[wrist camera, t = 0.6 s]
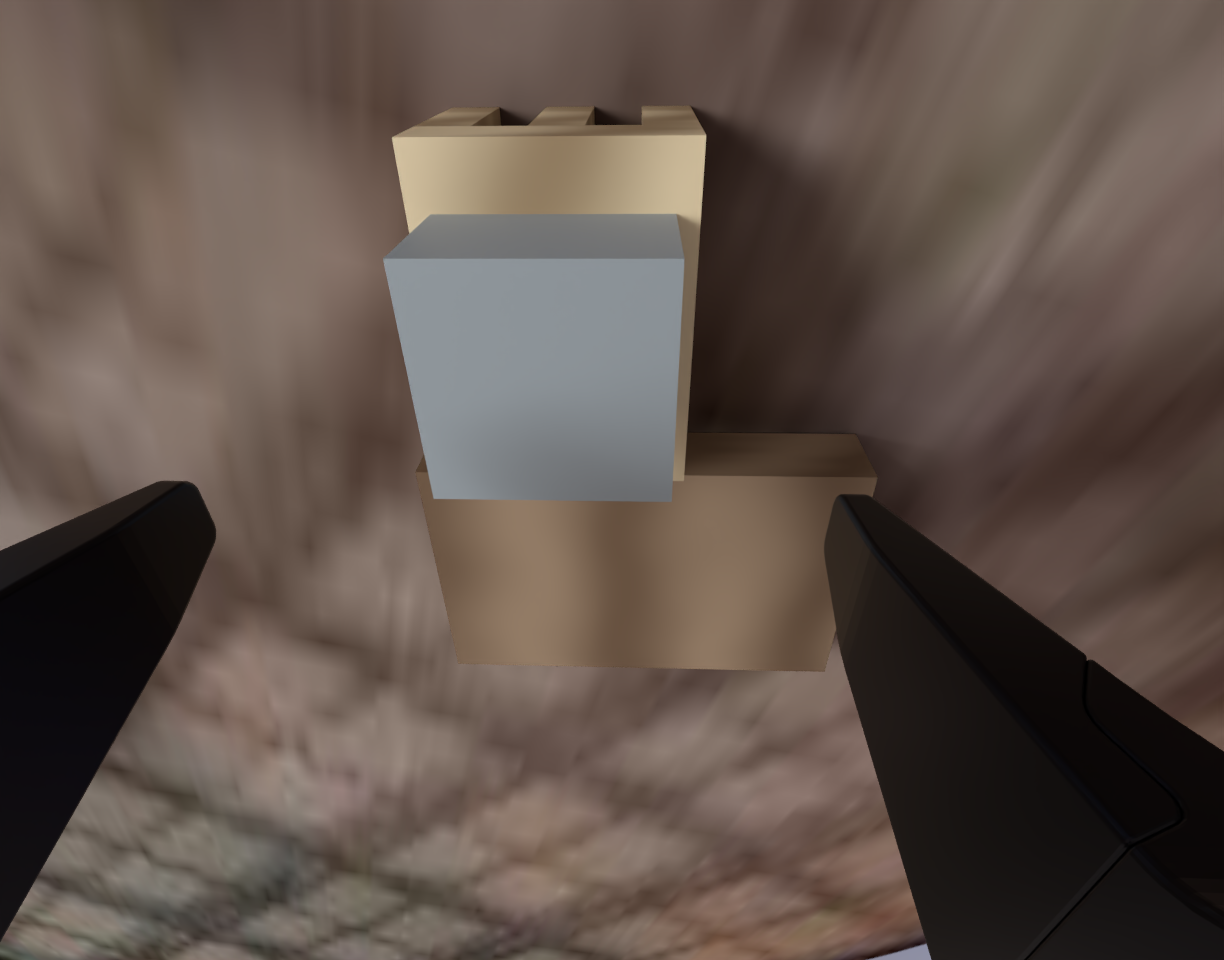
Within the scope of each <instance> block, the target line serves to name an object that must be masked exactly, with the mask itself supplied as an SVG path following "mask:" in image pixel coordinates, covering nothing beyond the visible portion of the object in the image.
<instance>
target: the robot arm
mask: <svg viewBox="0 0 1224 960" xmlns="http://www.w3.org/2000/svg"><path fill="white" fill-rule="evenodd" d="M215 539H216V528H215V524H214V522H213V520H212V518H211V516H210V513H209V511H208V509H207V507H206V505H205V503H204V500H203V498H202V496H201V494H200V492H199V490H198V488H197V487H196V486H195V485H194V484H193V483H190V482H188V481H159V482H156V483H154V484H151V485H149V486H147V487H144V488H142V489H140V490H138V491H135V492H133V493H131V494H129V495H126V496H124V497H122V498H119V499H117V500H115V501H113V502H110V503H108V504H106V505H103V506H101V507H99V508H97V509H94V510H92V511H90V512H87V513H85V514H83V515H81V516H78V517H76V518H74V519H72V520H69V521H67V522H65V523H62V524H60V525H58V526H56V527H53V528H51V529H49V530H46V531H44V532H42V533H40V534H37V535H35V536H33V537H30V538H28V539H26V540H24V541H21V542H19V543H17V544H15V545H12V546H10V547H8V548H5V549H3V550H1V551H0V942H1V940H2V938H3V936H4V934H5V933H6V931H7V929H8V927H9V926H10V924H11V922H12V920H13V919H14V917H15V915H16V913H17V912H18V910H19V908H20V906H21V905H22V903H23V901H24V899H25V898H26V896H27V894H28V892H29V890H30V889H31V887H32V885H33V883H34V882H35V880H36V878H37V876H38V875H39V873H40V871H41V869H42V868H43V866H44V864H45V862H46V861H47V859H48V857H49V855H50V853H51V852H52V850H53V848H54V846H55V845H56V843H57V841H58V839H59V838H60V836H61V834H62V832H63V831H64V829H65V827H66V825H67V824H68V822H69V820H70V818H71V817H72V815H73V813H74V811H75V809H76V808H77V806H78V804H79V802H80V801H81V799H82V797H83V795H84V794H85V792H86V790H87V788H88V787H89V785H90V783H91V781H92V780H93V778H94V776H95V774H96V773H97V771H98V769H99V767H100V765H101V764H102V762H103V760H104V758H105V757H106V755H107V753H108V751H109V750H110V748H111V746H112V744H113V743H114V741H115V739H116V737H117V736H118V734H119V732H120V730H121V728H122V727H123V725H124V723H125V721H126V720H127V718H128V716H129V714H130V713H131V711H132V709H133V707H134V706H135V704H136V702H137V700H138V699H139V697H140V695H141V693H142V692H143V690H144V688H145V686H146V684H147V683H148V681H149V679H150V677H151V676H152V674H153V672H154V670H155V669H156V667H157V665H158V663H159V662H160V660H161V658H162V656H163V655H164V653H165V651H166V649H167V647H168V646H169V644H170V642H171V640H172V638H173V636H174V634H175V632H176V630H177V628H178V626H179V624H180V622H181V619H182V617H183V615H184V613H185V610H186V608H187V606H188V603H189V601H190V599H191V597H192V594H193V592H194V590H195V587H196V585H197V583H198V580H199V578H200V576H201V574H202V571H203V569H204V567H205V564H206V562H207V560H208V557H209V555H210V553H211V551H212V548H213V546H214V543H215ZM824 558H825V564H826V570H827V576H828V582H829V588H830V594H831V600H832V606H833V612H834V618H835V624H836V630H837V636H838V641H839V647H840V652H841V656H842V660H843V663H844V667H845V671H846V674H847V677H848V681H849V684H850V687H851V691H852V694H853V697H854V701H855V704H856V708H857V711H858V714H859V718H860V721H861V724H862V728H863V731H864V734H865V738H866V741H867V745H868V748H869V751H870V755H871V758H872V761H873V765H874V768H875V771H876V775H877V778H878V781H879V785H880V788H881V792H882V795H883V798H884V802H885V805H886V808H887V812H888V815H889V818H890V822H891V825H892V829H893V832H894V835H895V839H896V842H897V845H898V849H899V852H900V855H901V859H902V862H903V865H904V869H905V872H906V876H907V879H908V882H909V886H910V889H911V892H912V896H913V899H914V902H915V906H916V909H917V913H918V916H919V919H920V923H921V926H922V929H923V933H924V936H925V939H926V943H927V946H928V949H929V953H930V956H931V959H932V960H1224V751H1222V750H1221V749H1219V748H1218V747H1216V746H1215V745H1213V744H1212V743H1210V742H1209V741H1207V740H1206V739H1204V738H1203V737H1201V736H1200V735H1198V734H1197V733H1195V732H1194V731H1192V730H1191V729H1189V728H1188V727H1186V726H1185V725H1183V724H1182V723H1180V722H1179V721H1177V720H1176V719H1174V718H1173V717H1171V716H1170V715H1168V714H1167V713H1166V712H1164V711H1163V710H1161V709H1160V708H1159V707H1157V706H1156V705H1154V704H1153V703H1152V702H1150V701H1149V700H1147V699H1146V698H1144V697H1143V696H1142V695H1140V694H1139V693H1137V692H1136V691H1135V690H1133V689H1132V688H1130V687H1129V686H1128V685H1126V684H1125V683H1123V682H1122V681H1121V680H1119V679H1118V678H1117V677H1115V676H1114V675H1113V674H1111V673H1110V672H1108V671H1107V670H1106V669H1104V668H1103V667H1102V666H1100V665H1099V664H1098V663H1096V662H1095V661H1093V660H1087V657H1086V655H1085V654H1084V653H1082V652H1081V651H1080V650H1078V649H1077V648H1076V647H1074V646H1073V645H1072V644H1070V643H1069V642H1067V641H1066V640H1065V639H1063V638H1062V637H1061V636H1059V635H1058V634H1057V633H1055V632H1054V631H1053V630H1051V629H1050V628H1049V627H1047V626H1046V625H1044V624H1043V623H1042V622H1040V621H1039V620H1038V619H1036V618H1035V617H1034V616H1032V615H1031V614H1030V613H1028V612H1027V611H1025V610H1024V609H1023V608H1021V607H1020V606H1019V605H1017V604H1016V603H1015V602H1013V601H1012V600H1011V599H1009V598H1008V597H1007V596H1005V595H1004V594H1002V593H1001V592H1000V591H998V590H997V589H996V588H994V587H993V586H992V585H990V584H989V583H988V582H986V581H985V580H983V579H982V578H981V577H979V576H978V575H977V574H975V573H974V572H973V571H971V570H970V569H969V568H967V567H966V566H964V565H963V564H962V563H960V562H959V561H958V560H956V559H955V558H954V557H952V556H951V555H950V554H948V553H947V552H946V551H944V550H943V549H941V548H940V547H939V546H937V545H936V544H935V543H933V542H932V541H931V540H929V539H928V538H927V537H925V536H924V535H922V534H921V533H920V532H918V531H917V530H916V529H914V528H913V527H912V526H910V525H909V524H908V523H906V522H905V521H904V520H902V519H901V518H899V517H898V516H897V515H895V514H894V513H893V512H891V511H890V510H889V509H887V508H886V507H885V506H883V505H882V504H880V503H879V502H878V501H876V500H875V499H874V498H872V497H871V496H869V495H865V494H840V495H839V496H837V497H836V499H835V501H834V503H833V507H832V511H831V515H830V519H829V524H828V528H827V532H826V536H825V541H824Z"/></svg>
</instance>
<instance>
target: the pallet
mask: <svg viewBox="0 0 1224 960" xmlns="http://www.w3.org/2000/svg"><path fill="white" fill-rule="evenodd" d="M392 141H393V146H394V152H395V157H396V163H397V168H398V173H399V179H400V184H401V190H402V195H403V201H404V206H405V212H406V217H407V222H408V228H409V233H411V232H412V231H413V230H414V229H415V228H416V227H417V226H418V225H419V224H421V223H422V222H423V221H424V220H425V219H426V218H427V217H428V216H429V215H430V214H676V215H677V220H678V226H679V231H680V237H681V242H682V248H683V253H684V258H685V259H684V278H683V297H682V316H681V335H680V354H679V373H678V392H677V411H676V429H675V448H674V467H673V481H684V471H685V456H686V441H687V425H688V410H689V395H690V379H691V364H692V348H693V333H694V318H695V302H696V287H697V272H698V256H699V241H700V226H701V210H702V195H703V179H704V164H705V149H706V134H705V132H704V130H703V128H702V126H701V125H700V123H699V121H698V119H697V117H696V116H695V114H694V112H693V110H692V108H691V107H690V106H642V125H595V116H594V107H546V108H545V109H544V110H543V111H542V112H541V113H540V114H539V115H538V116H537V117H536V118H535V119H534V120H533V121H532V122H531V123H530V124H529V125H528V126H501V118H500V108H499V107H477V108H451V109H449V110H447V111H445V112H443V113H441V114H439V115H436V116H434V117H432V118H430V119H428V120H426V121H424V122H422V123H420V124H418V125H416V126H414V127H412V128H410V129H408V130H406V131H404V132H402V133H400V134H398V135H396V136H394V137H392Z"/></svg>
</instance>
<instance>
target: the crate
mask: <svg viewBox="0 0 1224 960" xmlns="http://www.w3.org/2000/svg"><path fill="white" fill-rule="evenodd" d="M684 259H685V258H684V253H683V248H682V242H681V237H680V231H679V226H678V220H677V215H676V214H430V215H429V216H428V217H427V218H426V219H425V220H424V221H423V222H422V223H421V224H419V225H418V226H417V227H416V228H415V229H414V230H413V231H412V232H411V233H410V234H409V235H408V236H407V237H406V238H405V239H404V240H402V241H401V242H400V243H399V244H398V245H397V246H396V247H395V248H394V249H393V250H392V251H391V252H390V253H389V254H388V255H387V256H385V257H384V258H383V261H384V265H385V270H386V275H387V280H388V284H389V289H390V294H391V299H392V303H393V308H394V313H395V318H396V322H397V327H398V332H399V337H400V341H401V346H402V351H403V356H404V360H405V365H406V370H407V375H408V379H409V384H410V389H411V394H412V398H413V403H414V408H415V413H416V417H417V422H418V427H419V432H420V436H421V441H422V446H423V451H424V455H425V460H426V465H427V470H428V474H429V479H430V484H431V489H432V493H433V498H434V499H482V500H559V501H637V502H672V486H673V467H674V448H675V429H676V411H677V392H678V373H679V354H680V335H681V316H682V297H683V278H684Z"/></svg>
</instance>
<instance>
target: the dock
mask: <svg viewBox="0 0 1224 960" xmlns="http://www.w3.org/2000/svg"><path fill="white" fill-rule="evenodd" d="M415 473H416V477H417V481H418V486H419V490H420V495H421V499H422V504H423V508H424V513H425V517H426V521H427V526H428V530H429V535H430V539H431V544H432V548H433V553H434V557H435V562H436V566H437V570H438V575H439V579H440V584H441V588H442V593H443V597H444V602H445V606H446V610H447V615H448V619H449V624H450V628H451V633H452V637H453V642H454V646H455V650H456V655H457V659H458V664H496V665H542V666H588V667H634V668H680V669H726V670H772V671H818V672H825V668H826V664H827V661H828V657H829V653H830V650H831V646H832V643H833V639H834V635H835V632H836V624H835V618H834V612H833V606H832V600H831V594H830V588H829V582H828V576H827V570H826V564H825V558H824V541H825V536H826V532H827V528H828V524H829V519H830V515H831V511H832V507H833V503H834V501H835V499H836V497H837V496H839V495H840V494H865V495H869V496H871V497H873V494H874V490H875V486H876V483H877V479H878V477H877V475H876V473H875V471H874V469H873V467H872V465H871V463H870V461H869V459H868V457H867V455H866V454H865V452H864V450H863V448H862V446H861V444H860V442H859V440H858V438H857V436H856V434H796V433H687V441H686V456H685V471H684V481H673V486H672V502H637V501H559V500H482V499H434V498H433V493H432V489H431V484H430V479H429V474H428V470H427V465H426V460H425V455H424V456H423V458H422V460H421V462H420V464H419V466H418V468H417V470H416V472H415Z"/></svg>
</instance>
